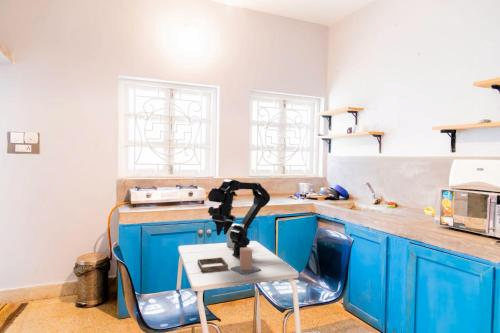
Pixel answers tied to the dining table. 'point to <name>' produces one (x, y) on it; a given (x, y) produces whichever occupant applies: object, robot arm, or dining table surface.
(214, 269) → the walnut well
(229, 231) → the supplement box
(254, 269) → the slate pad
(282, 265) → the dining table surface
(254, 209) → the robot arm
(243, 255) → the terracotta block
